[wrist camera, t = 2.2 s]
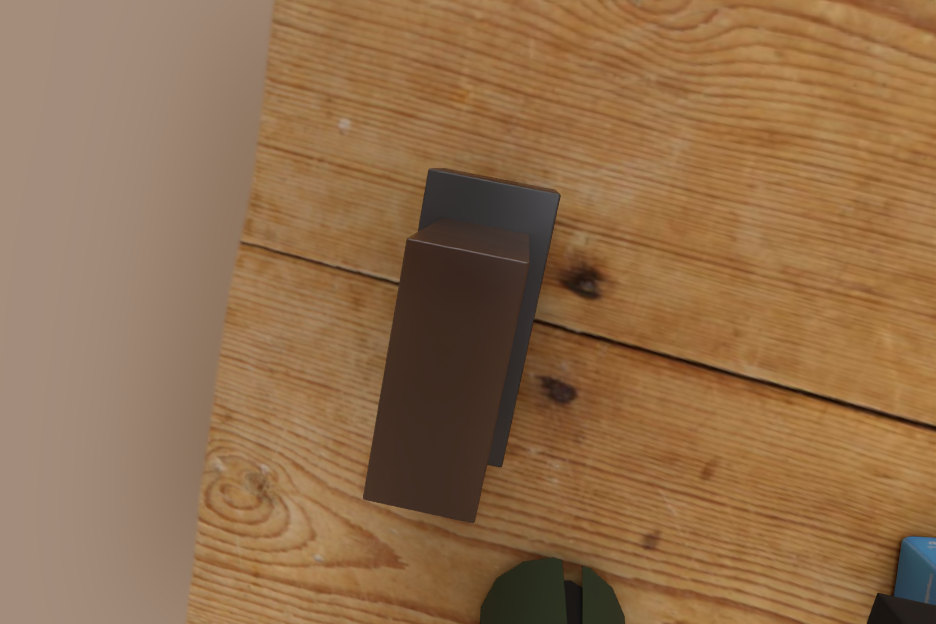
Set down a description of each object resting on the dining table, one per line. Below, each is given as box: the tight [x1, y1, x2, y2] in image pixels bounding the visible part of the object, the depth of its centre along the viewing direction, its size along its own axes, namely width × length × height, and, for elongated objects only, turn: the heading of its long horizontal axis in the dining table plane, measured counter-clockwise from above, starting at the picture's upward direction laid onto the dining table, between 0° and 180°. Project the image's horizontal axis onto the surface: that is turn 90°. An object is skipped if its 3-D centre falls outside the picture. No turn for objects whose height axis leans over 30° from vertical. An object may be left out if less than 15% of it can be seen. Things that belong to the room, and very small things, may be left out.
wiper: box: [363, 168, 561, 523], centre depth 23 cm, size 4×10×11 cm, turn 169°
